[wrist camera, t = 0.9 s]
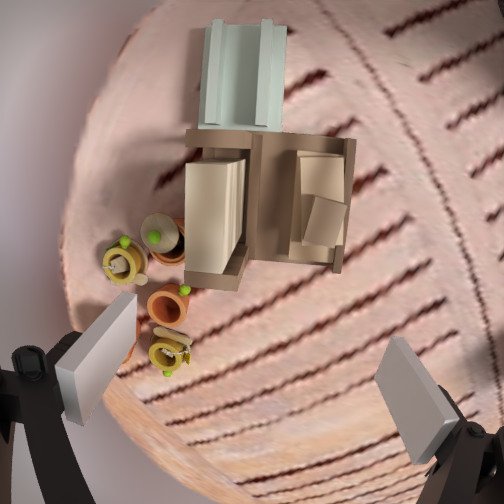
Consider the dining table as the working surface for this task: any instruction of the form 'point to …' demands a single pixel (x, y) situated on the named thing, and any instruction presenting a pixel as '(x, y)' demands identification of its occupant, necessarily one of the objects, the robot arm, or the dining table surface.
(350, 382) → the dining table surface
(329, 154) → the rack
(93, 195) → the dining table surface
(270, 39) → the stand
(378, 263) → the dining table surface
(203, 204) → the birch block
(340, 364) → the dining table surface
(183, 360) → the toy tea set
